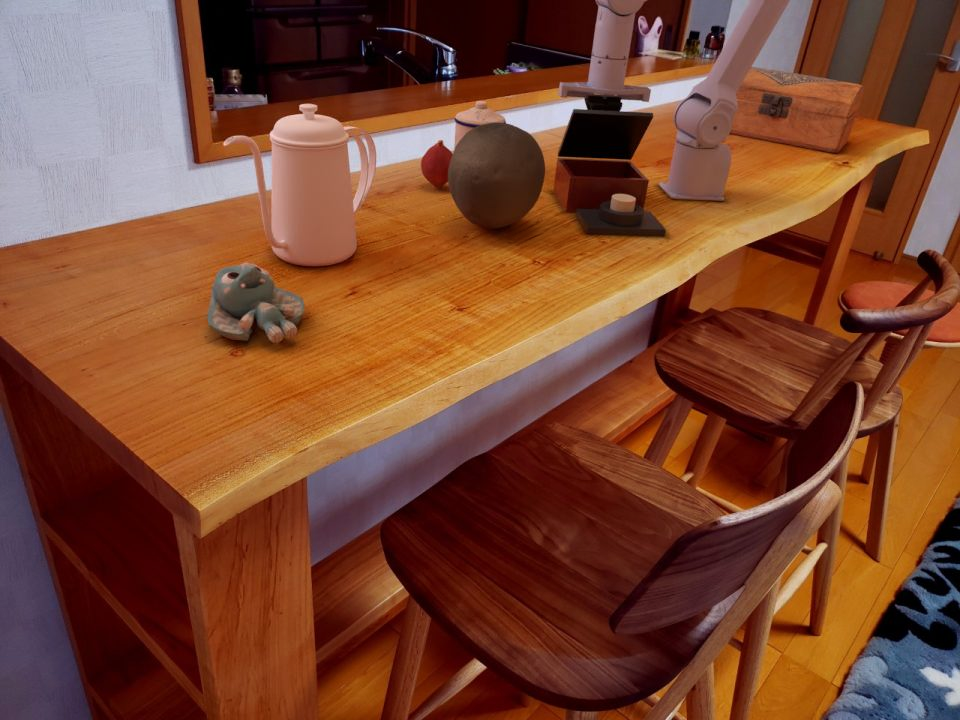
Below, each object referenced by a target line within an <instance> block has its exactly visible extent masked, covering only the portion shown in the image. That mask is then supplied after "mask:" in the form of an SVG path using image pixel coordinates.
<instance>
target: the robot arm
mask: <svg viewBox="0 0 960 720" xmlns="http://www.w3.org/2000/svg"><path fill="white" fill-rule="evenodd" d="M647 1H648V0H595V3H596V5H597V15H596V22H595V27H594V34H593V40H592V41H593V42H592V49H591V57H590V65H589V69H588V79H587V81H584V82H583V81H580V82H578V81H577V82H565V81H563V82H562V81H559V85H558V94H557V95H558V96H559V97H560V98H583V99H584V103H585V106H586V110H604V111H621V110H622V108H623V102H622V100H623V101H638V102H639V101H641V102H643V103H650V99H651V94H652V93H651V92H652V89H651V88H649V87H648V86H638V85H630V84H629V85H628V84H625V81H626V75H627V68H628V62H629V56H630V51H631V42H632V38H633V31H634V23H635V18H636V13H637V12H638V11H639V10H640V9H641V8H642V6H643V5H644V3H645V2H647ZM790 1H791V0H749V2H748V3H747V5H746V7H745V9H744V10H743V12H742V14H741V16H740V17H739V19H738V21H737V23H736V25H735V27H734V28H733V30H732V32H731V34H730V35H729V37H728V39H727V41H726V43H725V44H724V46H723V48H722V50H721V51H720V53H719V55H718V57H717V59H716V60H715V63H714V64H713V66H712V68H711V70H710V71H709V73H708V75H707V77H706V78H704V79H703V80H701V81H700V82H699V83H697V84H695V85H694V86H693V87H692V89H691V91H690V92H689V94H688V95H687V96H686V97H685V98H683V99H682V100H681V101H680V102H679V103H678V104H677V106H676V108H675V110H674V112H673V116H672V117H673V124H674V127H675V128H676V130H677V132H676V138H675V141H674V142H675V143H674V148H673V153H672V157H671V162H670V167H669V173H668V177H667V180H666V181H667V182H664V181H663V182H662V181H659V182H658V186H659V187H660V189H662V190H663V191H664V192H665V193H666V194H667V195H668V197H670V198H671V199H672V200H692V201H693V200H694V201H715V202H716V201H717V202H718V201H719V202H721V201H722V202H724V201H725V197H724V193H725V190H726V186H727V182H728V178H729V173H730V169H731V165H732V150H731V148H730V146H729V145H728V144H725V143H723V142H724V141H726V139H727V138H728V137H729V135H730V134H731V133H730V131H731V128H732V121H733V118H734V115H735V113H736V112H737V110H738V103H737V97H736V93H737V91H738V89H739V87H740V86H741V84H742V82H743V80H744V79H745V77H746V75H747V74H748V72H749V70H750V68H751V67H753V65H754V63H755V61H756V60H757V58H758V57H759V55H760V53H761V51H762V50H763V48H764V47H765V44H766V43H767V41H768V39H769V37H771V34H772V32H773V31H774V29H775V27H776V25H777V24H778V22H779V21H780V19H781V17H782V15H783V13H784V11H786V8H787V7H788V5H789V3H790Z"/></svg>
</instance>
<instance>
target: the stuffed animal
mask: <svg viewBox="0 0 960 720" xmlns="http://www.w3.org/2000/svg"><path fill="white" fill-rule="evenodd" d="M210 292H211V293H210V303H209V307H208V311H207V316H206V319H207V322H208V326H210V328H211V329H212V330H213V331H214V333H216V334H218V335H220V336H223V337H225V338H228V339H230V340H233V341H245V342H249V339H250V335H251V334H252V332H253V330H252V326H253V324H254V322H255V321H256V326H257V327H258V328H259V329H260V330H262V331H265V334H266V337H267V338H268V340H269V342H271V343H272V344H279V343H280V342H281V341H283V340H284V338H286V339H293V338H294V337H296V336H297V334H298V331H299V330H298V328H297V326H298V325H299V323H300V321H301V319H302V317H303V313H304V310H305V307H306V305H305V302H304V300H303V298H302V297H301V296H299V295H298V294H295V293H293V292H291V291H288V290H285V289H283V288H281V287H278V286H275V282H274V278H273V277H272V275H271V274H270V273H269V272H268V270H265V268H262V267H260V266H258V265H257V264H255V263H253V262H248V261H246V262H242V263H240V264H238V265H233V266H226V267H222V268H221V269H220V270H219V271H218V272H217V274H216V275H215V279H214V282H213V285H212V287H211V291H210ZM254 320H255V321H254Z"/></svg>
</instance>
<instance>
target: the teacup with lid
mask: <svg viewBox="0 0 960 720" xmlns="http://www.w3.org/2000/svg"><path fill="white" fill-rule="evenodd" d="M453 119H454V123H455V129H454V130H455V131H454V148H453V150H454V149H455V147H456V145H457V144H458V142H459V141H460V140H461V139H462V138H463V136H464V135H465V134H466V133H467V132H468V131H470V130H471V129H473V128H475V127H477V126H480V125H483V124H488V123H507V120H506V118H505V116H503V115H502V114H499V113H497V112H496V111H494V110H493V109H492V108H490V107H488V103H487V101H485V100H477V101H476V102H475V106H472V107H470V108H468V109H466V110H462V111H459V112H457V113H456V114H455V117H454V118H453Z"/></svg>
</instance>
